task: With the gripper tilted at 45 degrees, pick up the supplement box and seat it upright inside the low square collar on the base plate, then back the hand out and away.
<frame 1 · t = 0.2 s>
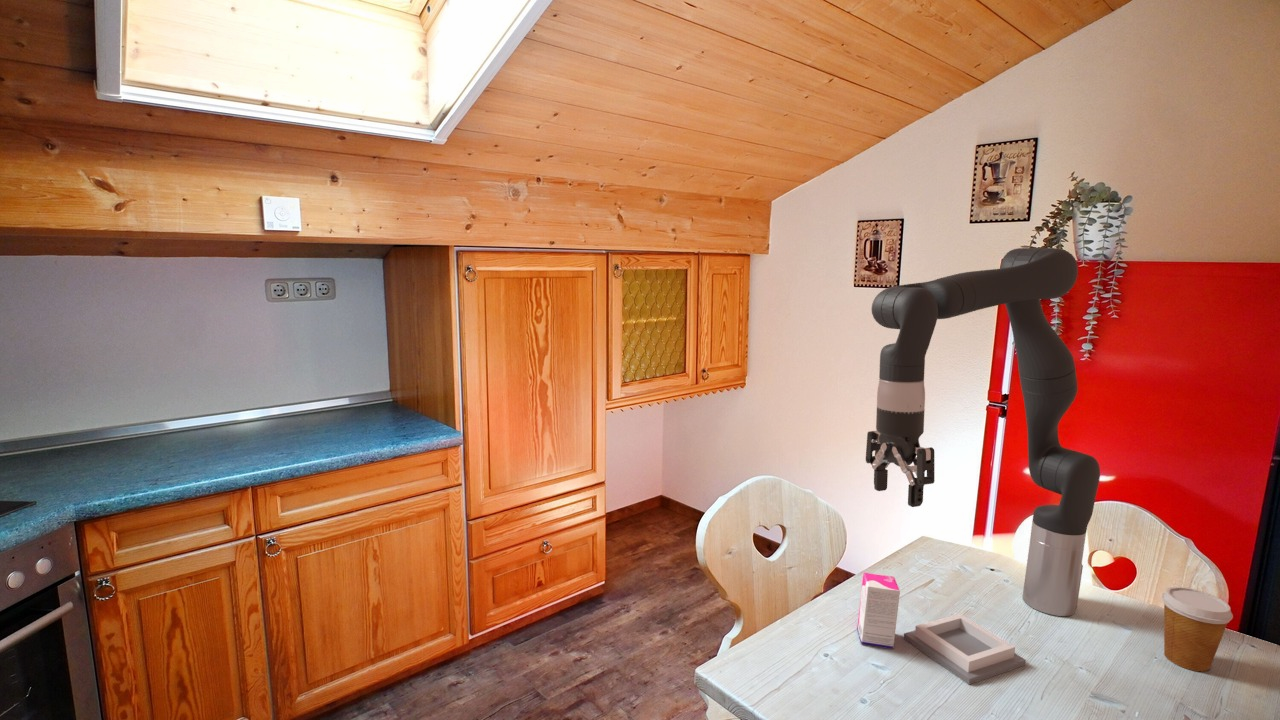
hand: (896, 497, 110), 29 cm above the table, tool pointing down, fingers open, 8 cm apart
socket: (962, 651, 115), on the table
disposable coffee cup: (1186, 662, 114), on the table
supplement box: (875, 639, 118), on the table
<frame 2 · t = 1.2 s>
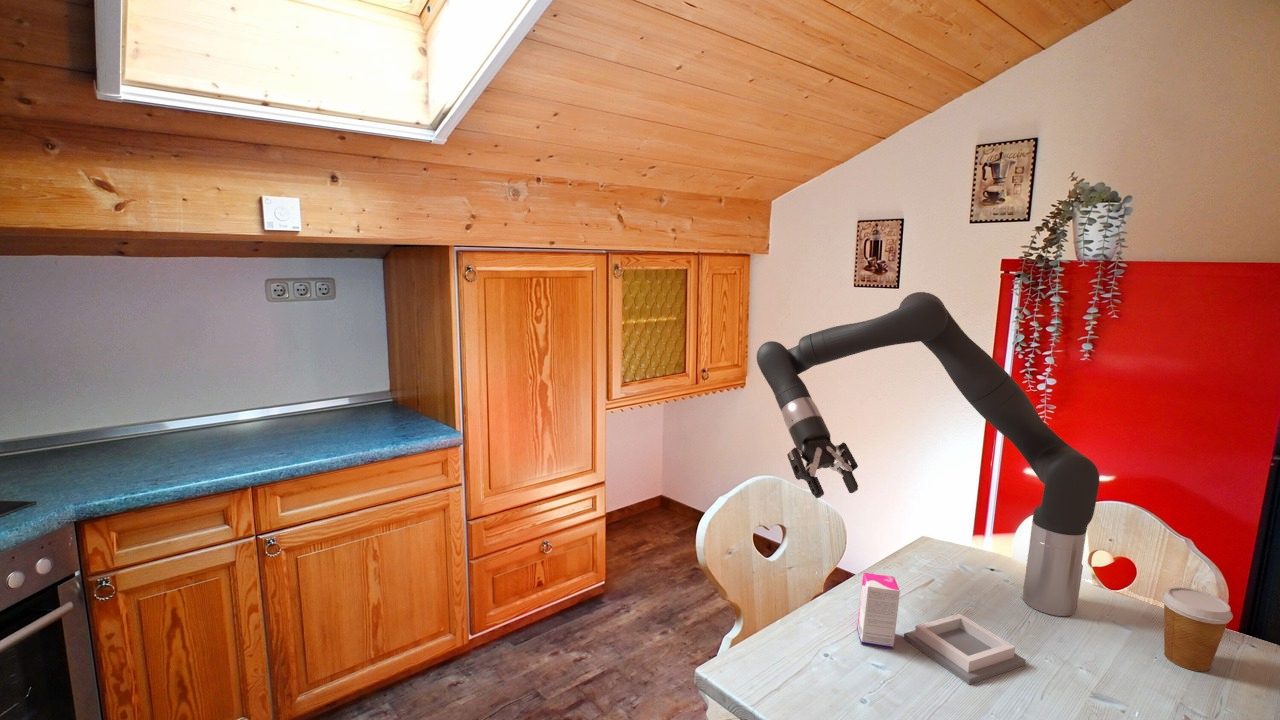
hand: (837, 493, 126), 24 cm above the table, tool tilted 45°, fingers open, 8 cm apart
nothing on the table moved.
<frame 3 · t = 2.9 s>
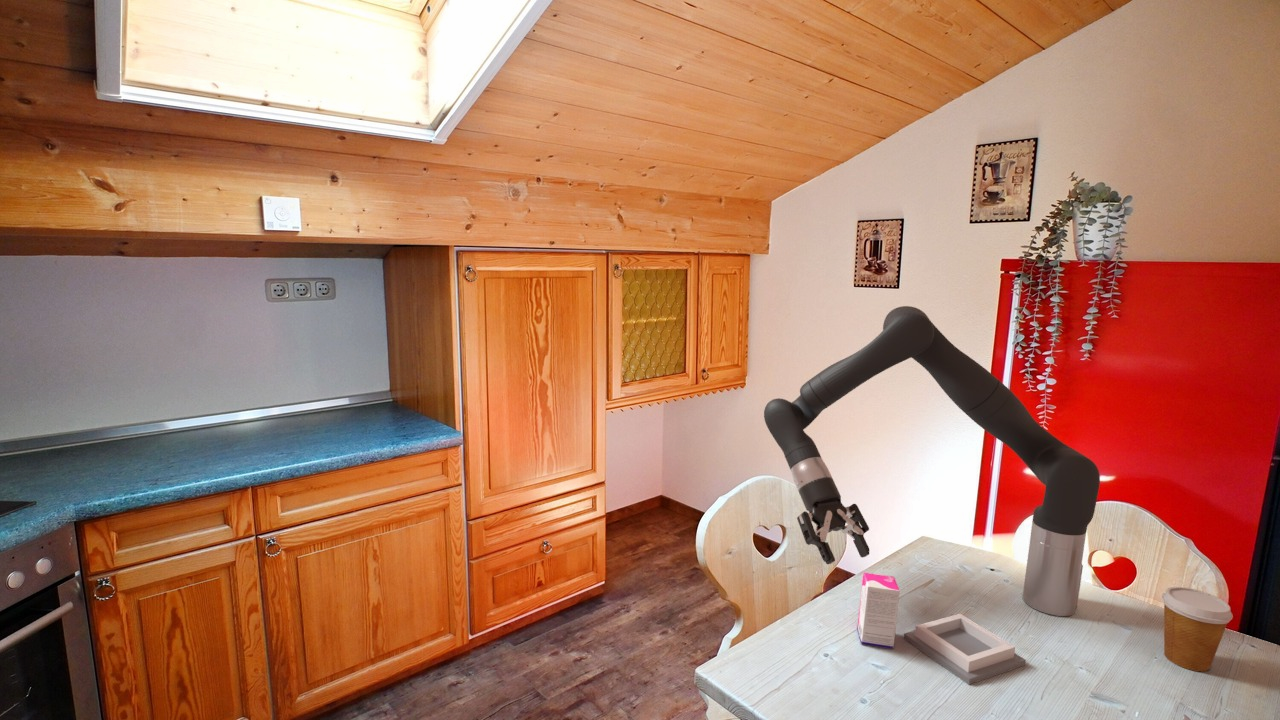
hand: (848, 559, 124), 12 cm above the table, tool tilted 45°, fingers open, 8 cm apart
nothing on the table moved.
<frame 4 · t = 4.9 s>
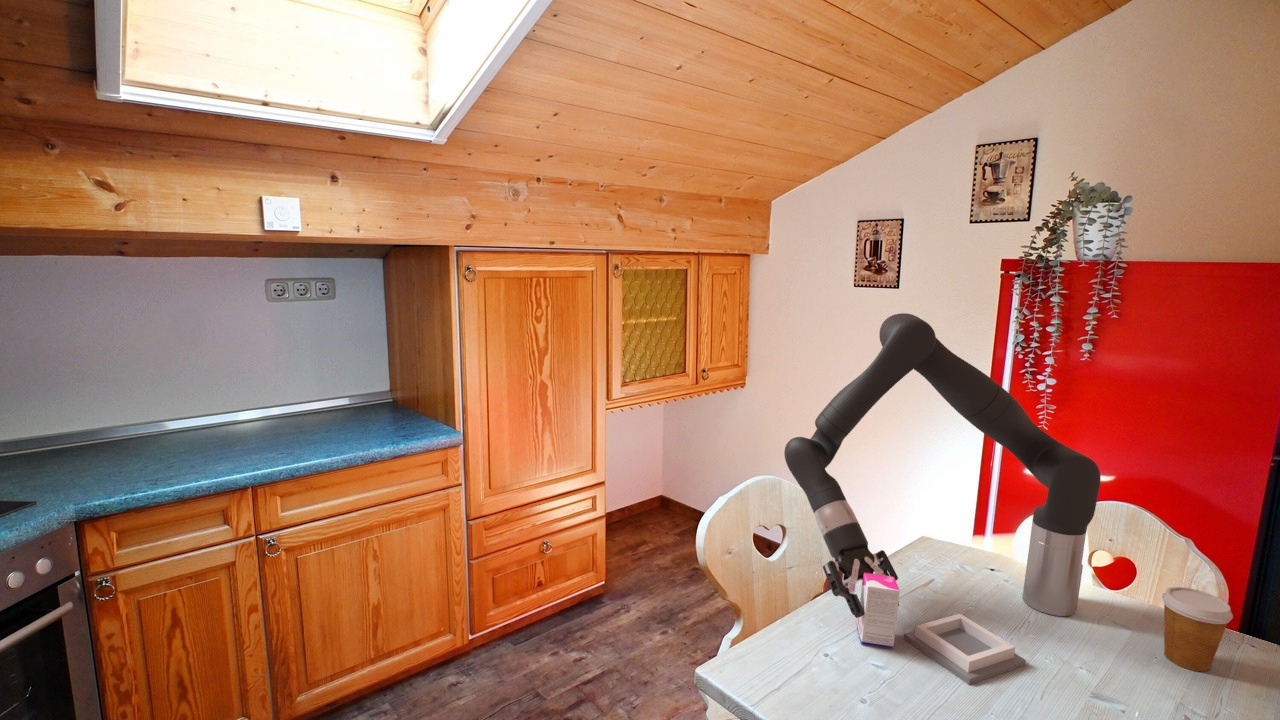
hand: (878, 612, 117), 5 cm above the table, tool tilted 45°, fingers closed on supplement box, 8 cm apart
supplement box: (875, 639, 118), on the table, touching gripper
everything else where it was.
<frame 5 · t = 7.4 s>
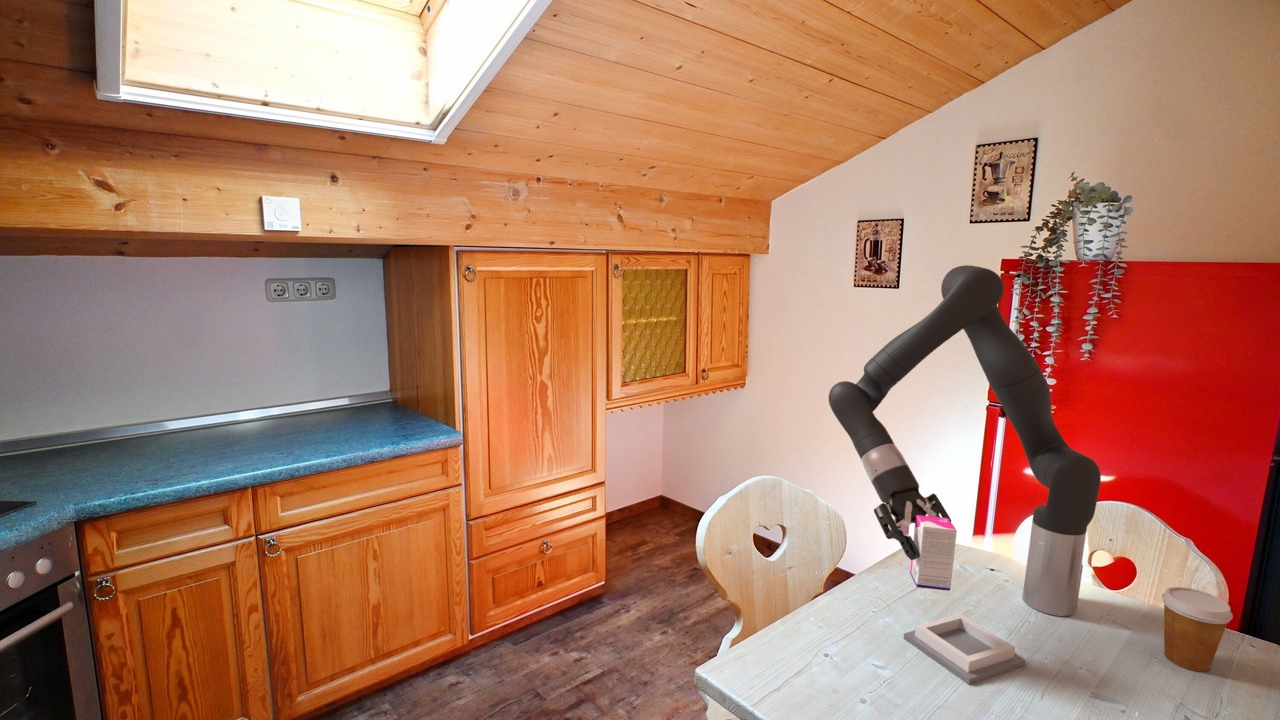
hand: (933, 554, 114), 18 cm above the table, tool tilted 45°, fingers closed on supplement box, 8 cm apart
supplement box: (929, 582, 115), point 12 cm above the table, touching gripper
everything else where it was.
when the fingers open (7 cm above the table, at t = 10.1 s): supplement box stays where it is, resting on socket.
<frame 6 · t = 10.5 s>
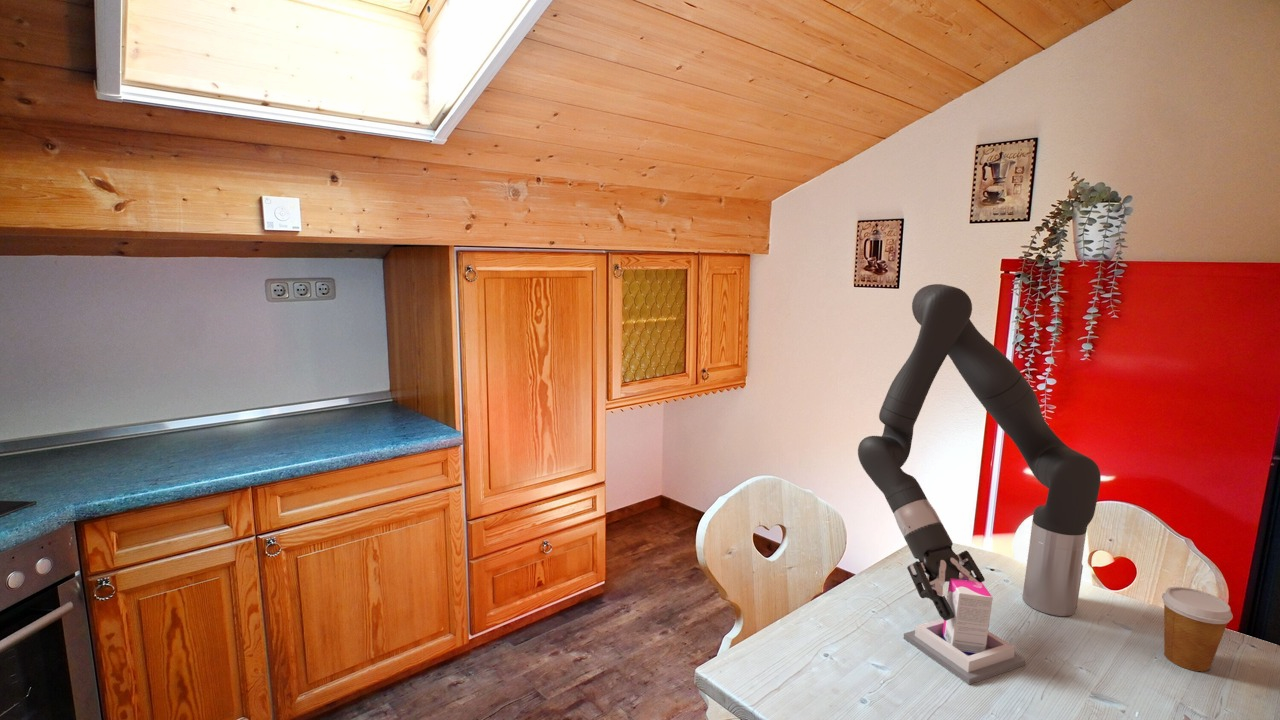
hand: (967, 614, 114), 7 cm above the table, tool tilted 45°, fingers open, 8 cm apart
supplement box: (962, 646, 115), point 1 cm above the table, touching gripper, socket
everything else where it was.
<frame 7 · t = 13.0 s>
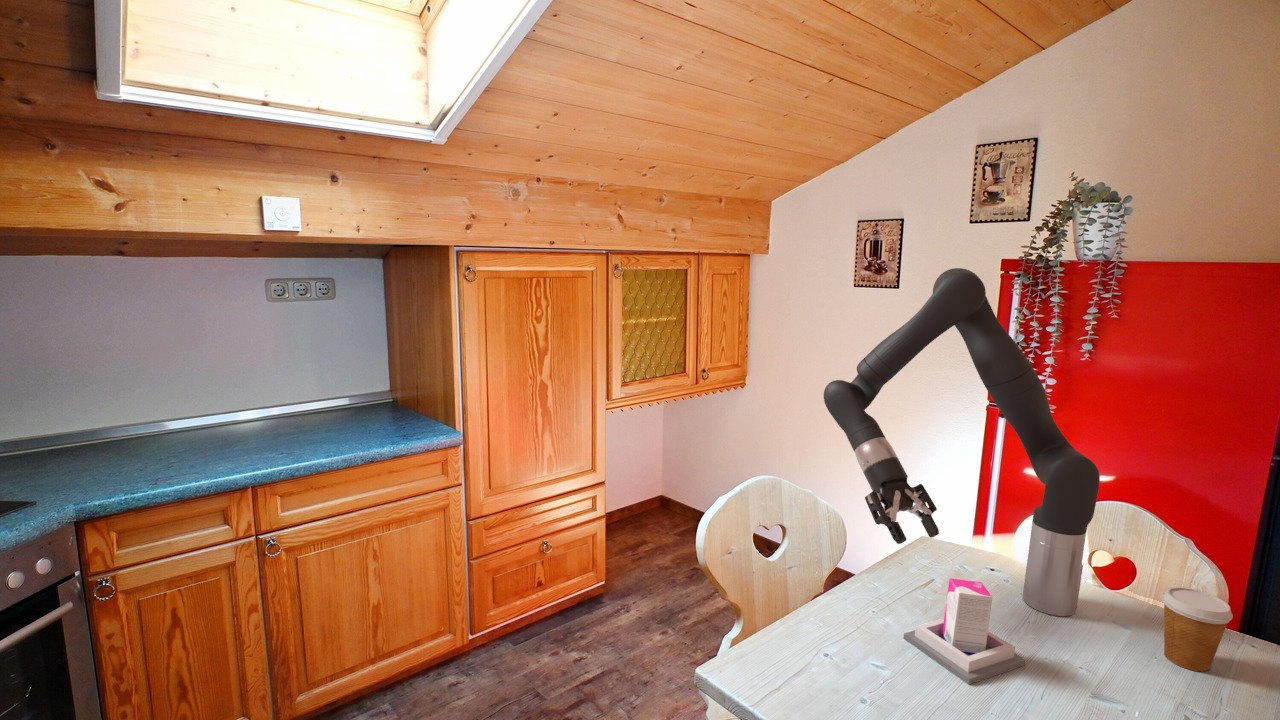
hand: (918, 539, 123), 16 cm above the table, tool tilted 45°, fingers open, 8 cm apart
supplement box: (962, 646, 115), point 1 cm above the table, touching socket
everything else where it was.
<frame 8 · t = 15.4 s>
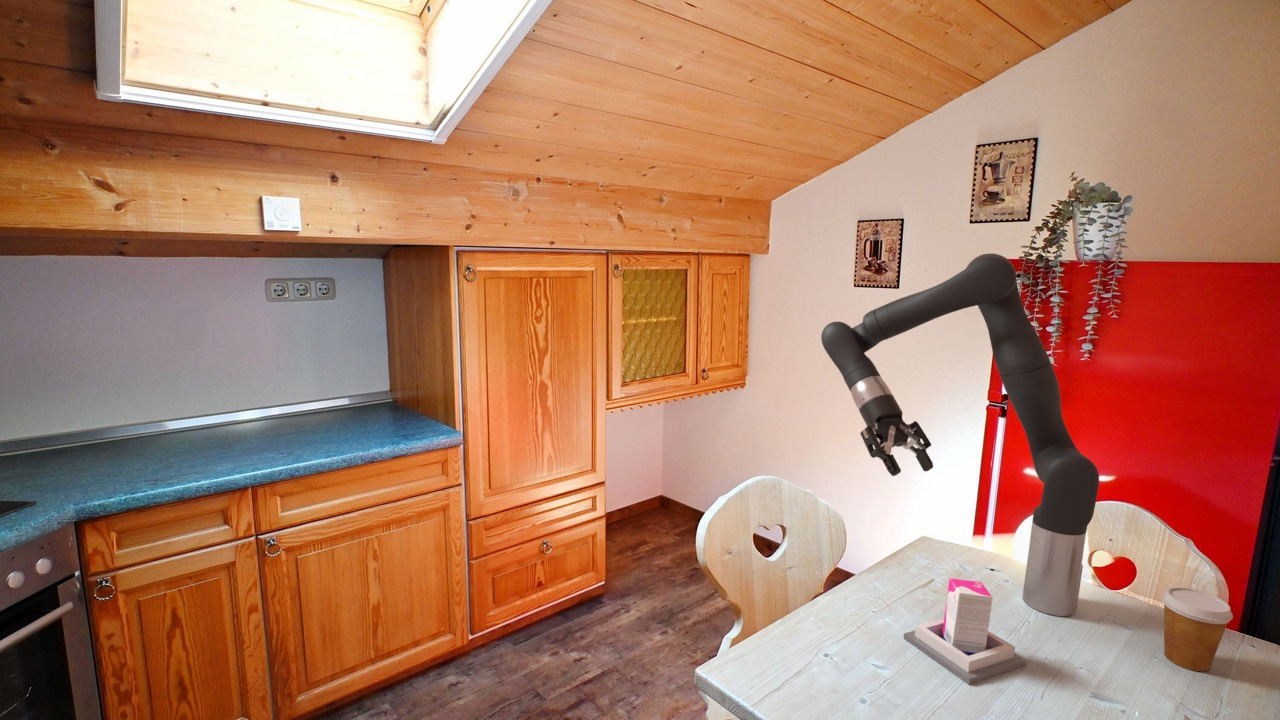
hand: (913, 471, 125), 29 cm above the table, tool tilted 45°, fingers open, 8 cm apart
nothing on the table moved.
at the end: supplement box 0.1 cm off-centre on the socket, point 0.8 cm above the socket's base; supplement box tilted 0°; the gripper is holding nothing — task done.
